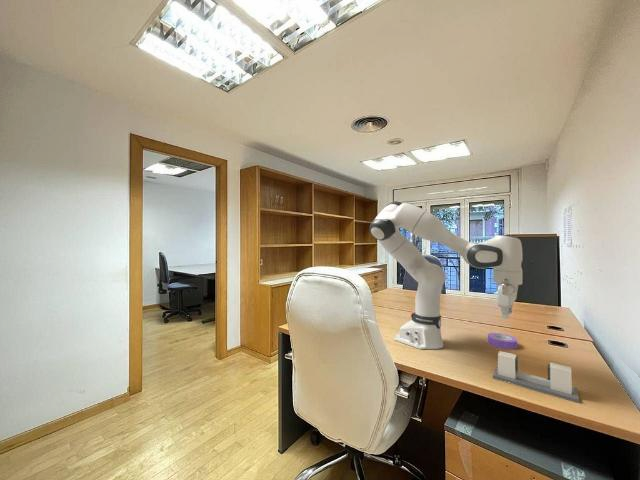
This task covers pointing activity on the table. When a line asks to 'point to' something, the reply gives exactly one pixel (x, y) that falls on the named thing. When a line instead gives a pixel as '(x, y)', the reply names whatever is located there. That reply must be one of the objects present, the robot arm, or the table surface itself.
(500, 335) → the masking tape
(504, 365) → the block
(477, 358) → the table surface
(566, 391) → the rail
